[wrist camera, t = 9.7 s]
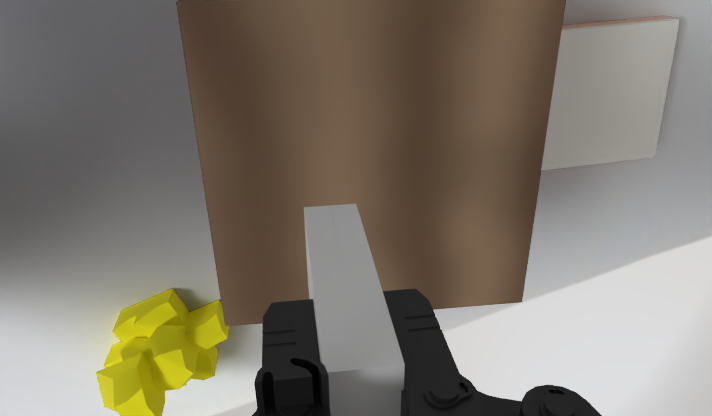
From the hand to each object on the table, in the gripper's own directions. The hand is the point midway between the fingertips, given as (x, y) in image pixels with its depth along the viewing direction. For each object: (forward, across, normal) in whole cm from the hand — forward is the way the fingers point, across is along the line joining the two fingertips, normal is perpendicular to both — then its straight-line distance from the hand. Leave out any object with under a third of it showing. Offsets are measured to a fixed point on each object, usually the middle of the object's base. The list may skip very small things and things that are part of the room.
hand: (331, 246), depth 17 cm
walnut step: (+17, +3, -1) cm, 17 cm away
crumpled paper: (+17, -10, -16) cm, 25 cm away
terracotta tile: (+15, +17, -1) cm, 22 cm away
